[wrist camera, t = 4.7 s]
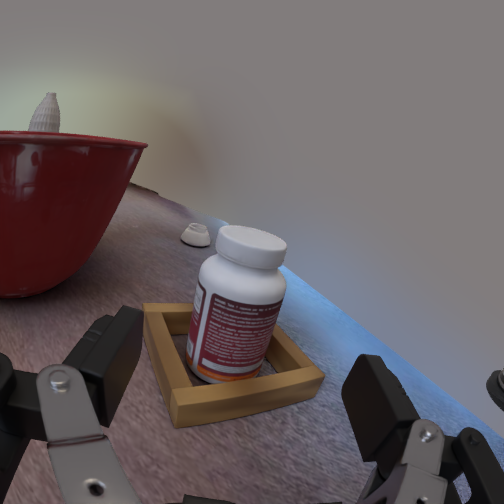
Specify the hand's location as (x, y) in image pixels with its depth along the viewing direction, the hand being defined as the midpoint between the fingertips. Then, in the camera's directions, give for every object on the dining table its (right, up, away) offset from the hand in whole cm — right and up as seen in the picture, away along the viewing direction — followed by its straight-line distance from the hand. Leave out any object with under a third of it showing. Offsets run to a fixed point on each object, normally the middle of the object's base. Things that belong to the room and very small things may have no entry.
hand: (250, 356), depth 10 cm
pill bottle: (-2, -6, +13) cm, 15 cm away
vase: (-78, +34, +74) cm, 113 cm away
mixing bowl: (-27, +2, +16) cm, 31 cm away
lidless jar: (-10, +5, +40) cm, 42 cm away
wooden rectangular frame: (-2, -5, +13) cm, 14 cm away
